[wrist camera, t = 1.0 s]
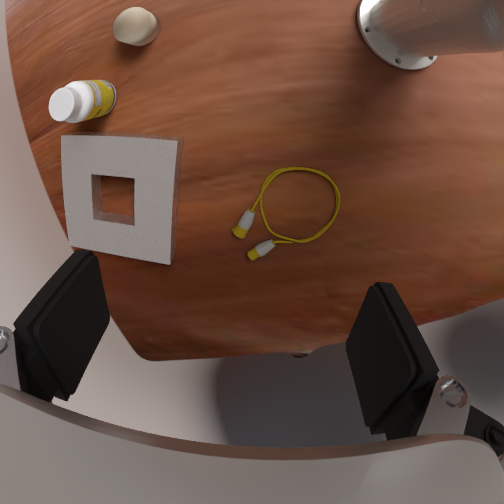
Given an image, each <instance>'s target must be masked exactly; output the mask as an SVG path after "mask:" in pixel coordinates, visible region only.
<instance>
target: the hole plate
mask: <svg viewBox="0 0 504 504" xmlns="http://www.w3.org/2000/svg"><path fill="white" fill-rule="evenodd" d="M183 142H184V137H175V136H165V135H152V134H137V133H117V132H70V133H67V134H64V135H61V160H62V181H63V195H64V206H65V215H66V223H67V231H68V238H69V244H70V246H74V247H79V248H84V249H89V250H94V251H99V252H104V253H109V254H114V255H119V256H124V257H130V258H135V259H140V260H146V261H151V262H157V263H162V264H168V265H170V264H171V262H172V260H173V258H174V256H175V252H176V229H177V211H178V197H179V184H180V172H181V161H182V151H183ZM101 175H107V176H117V177H127V178H135V200H134V209H135V216H131V215H124V214H117V213H111V212H104V211H102V187H101Z"/></svg>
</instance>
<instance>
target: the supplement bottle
mask: <svg viewBox="0 0 504 504" xmlns="http://www.w3.org/2000/svg"><path fill="white" fill-rule="evenodd" d="M115 102H116V90H115V88H114V86H113V85H112V84H111V83H110V82H108V81H106V80H86V81H74V82H71V83H69V84H68V85H66V86H65V87H64V88H60V89H58V90H56V91H55V92H54V93H53V95H52V96H51V98H50V101H49V112H50V115H51V116H52V118H53V119H55V120H56V121H64V120H65V121H66V122H69V123H77V122H81V121H85V120H89V119H92V118H96V117H100V116H103V115H105V114H107V113H108V112H110V111H111V109H112V108H113V106H114V105H115Z"/></svg>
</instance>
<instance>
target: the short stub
mask: <svg viewBox="0 0 504 504" xmlns="http://www.w3.org/2000/svg"><path fill="white" fill-rule="evenodd" d="M159 31H160V21H159V19H158V18H157V17H156V16H155V15H153V14H151V13H150V12H148V11H146V10H145V9H143V8H140V7H132V8H129V9H127V10H125V11H123V12H122V13H121V14H120V15H119V16H118V17H117V18H116V20H115V22H114V25H113V34H114V36H115V38H116V39H117V40H119V41H121V42H124V43H128V44H131V45H134V46H144V45H147V44H149V43H150V42H152V41H153V40H154V39H155V38H156V37H157V35H158V34H159Z"/></svg>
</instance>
